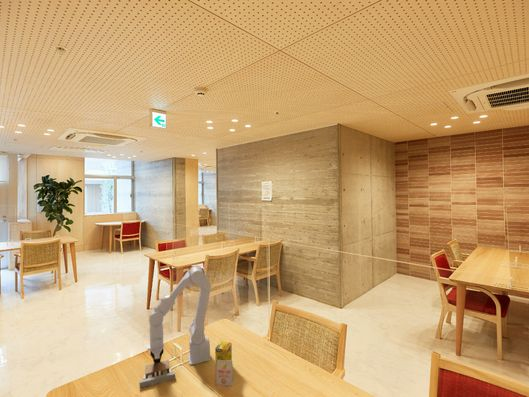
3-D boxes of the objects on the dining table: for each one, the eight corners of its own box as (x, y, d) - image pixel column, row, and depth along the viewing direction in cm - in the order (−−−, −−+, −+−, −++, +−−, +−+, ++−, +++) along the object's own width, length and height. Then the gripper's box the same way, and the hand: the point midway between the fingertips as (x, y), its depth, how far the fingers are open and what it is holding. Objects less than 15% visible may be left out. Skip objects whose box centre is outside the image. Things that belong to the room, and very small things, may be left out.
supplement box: (228, 373, 121) (227, 349, 120) (215, 372, 122) (214, 348, 122) (232, 365, 127) (231, 342, 126) (220, 363, 128) (219, 340, 127)
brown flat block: (168, 365, 127) (168, 360, 127) (170, 377, 119) (169, 371, 119) (145, 371, 123) (145, 365, 123) (144, 383, 115) (144, 377, 115)
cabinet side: (174, 372, 122) (174, 367, 122) (175, 378, 118) (175, 373, 118) (140, 380, 117) (139, 375, 117) (139, 388, 113) (139, 382, 113)
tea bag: (217, 379, 118) (217, 356, 117) (233, 380, 117) (233, 357, 116) (215, 385, 114) (215, 362, 113) (231, 386, 113) (231, 363, 113)
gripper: (147, 330, 130) (148, 357, 131) (146, 346, 117) (147, 377, 117) (163, 327, 133) (163, 354, 133) (164, 343, 119) (165, 373, 120)
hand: (157, 365), depth 126 cm, fingers closed
